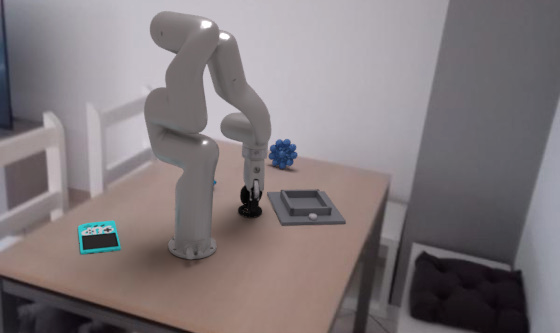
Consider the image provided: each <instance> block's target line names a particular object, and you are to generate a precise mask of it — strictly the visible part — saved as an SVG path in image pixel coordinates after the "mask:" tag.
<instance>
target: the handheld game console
mask: <svg viewBox="0 0 560 333" xmlns="http://www.w3.org/2000/svg"><path fill="white" fill-rule="evenodd" d="M77 230H78V234H77V235H78V240H79V241H78V243H80V244H79V251H80V255H88V254H89V255H91V254H92V255H93V254H99V253H101V254H102V253H108V252H112V251H113V252H119V251H121V250H122V247H121V242H120V239H119V234H118V231H117V230H118V229H117V225H116V221H115V220H106V221H105V220H104V221H94V222H86V223H83V224H80V225H78V227H77Z"/></svg>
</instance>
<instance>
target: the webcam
mask: <svg viewBox="0 0 560 333" xmlns="http://www.w3.org/2000/svg"><path fill="white" fill-rule="evenodd" d="M244 185H245V184H244ZM251 190H254V188H251ZM263 192H264V191H260V189H259V202H260V201H261V199H262V196H263ZM253 194H254V192H252V195H253ZM248 199H249V191H248V190H247V188H246V185H245V186H242V187H241V189H240V195H239V200H240V202H241V204H242V205H240V206H238V208H237V213H238V214H239V215H240V216H242V217H244V218H258V217H260V216H261V215H262V214H263V208H262V207H261V206H259V208H258V212H248V211H245V210H248Z"/></svg>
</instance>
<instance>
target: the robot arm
mask: <svg viewBox="0 0 560 333" xmlns="http://www.w3.org/2000/svg"><path fill="white" fill-rule="evenodd" d="M149 35H150V37H151V39H152V41H153V42H154V44H155V45H156V46H157V47H159V48H161V49H163V50H165V51H168V52H170V53H173V54H175V56H174V58H173V59H172V60H171V62H170V63H169V65H168V66H167V69H166V71H165V75H164V76H165V77H164V82H165V87H163V86H162V87H160V86H159V87H156V88H154V89H153V90H151V91H150V92H149V93H148V95H147V96H146V99H145V102H144V105H143V106H144V107H143V115H144V120H145V126H146V131H147V135H148V138H149V139H148V140H149V144H150V148H151V151H152V153H153V156H154V157H155V158H156V159H158V160H159V161H161V162H163V163H166V164H168V165H171V166H175V167H177V168H180V169H182V170H183V172H182V174H181V176H180V177H178V180H177V181H176V184H175V189H174V190H175V192H174V195H175V197H174V198H175V199H174V200H175V202H174V203H175V204H174V236H172V237H171V238H170V240H169V241H168V243H167V244H168V246H167V247H168V250H169V252H170V253H171V254H173V255H174V256H176V257H177V258H181V259H187V260H198V259H199V260H200V259H204V258H207V257H210V256H211V255H213V254H214V253H215V251H217V241H216V240H215V239H214V238H213V237H212V223H213V221H212V220H213V204H214V202H213V200H214V186H215V185H214V179H215V176H216V175H215V174H216V171H217V170H216V169H217V166H218V162H219V157H220V147H219V145H218V143H217V141H215V139H213V138H212V137H210V136H207V135H205V134H202V132H203V131H204V130H205V129H206V128H207V125H208V120H209V119H208V118H209V116H208V108H207V100H206V94H205V86H204V72H205V69H206V66H207V67H208V71H209V75H210V78H211V82H212V85H213V88H214V92H215V93H216V95H218V97H220V98H221V99H222V100H223V101H225V102H226V103H227V104H229V105H230V106H232V107H234V108H235V109H237V110H238V111H239V112H232V113H231V112H230V113H228V114H227V115H225V116H224V117H223V118H222V120H221V121H220V124H219V125H220V126H219V130H220V132H221V134H222V136H224V137H225V138H227V139H229V140H232V141H236V142H238V143H239V142H240V143H242V145H241V157H242V158H244V161H243V172H242V174H243V183H244V186H245V185H246V188H247V190H248V191H249V199H248V210H247V209H246V210H247V211H246V212H248V213H250V212H258V208H259V207H260V206H259V205H260V201H259V189H260V191H262V192H264V190H265V170H266V169H265V168H266V167H265V165H266V164H265V162H266V161H265V160H266V159H267V158H268V151H269V150H268V149H269V141H270V139H271V136H272V124H271V115H270V113H269V109H268V107H267V105H266V104H265V102H264V100H263V99H262V98H261V97H260V95H259V94H258V93H257V92H256V90H254V88H253V87H252V86H251V85H250V84H249V83H248V81H247V78H246V74H245V71H244V70H245V69H244V66H243V65H244V64H243V62H242V57H241V54H240V49H239V45H238V41H237V39H236V37H235V36H234V34H232V33H230V32H229V31H226V30H223V29H219V25H218V24H217V22H215V21H214V20H212V19H211V18H208V17H205V16H200V15H195V14H188V13H181V12H175V11H170V10H169V11H167V10H165V11H161V12H158V13H157V14H155V15H154V16H153V17H152V19H151V21H150V24H149ZM251 188H254V190H251ZM252 192H254V194H253V195H252Z"/></svg>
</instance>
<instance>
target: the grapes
mask: <svg viewBox="0 0 560 333" xmlns="http://www.w3.org/2000/svg"><path fill="white" fill-rule="evenodd" d="M291 143H292V142H291V139H288V138H285V139H284V140H282V139H281V138H278V139H277V140H276V141H275V144H272V145H270V146H269V151H270V152H269V154H268V155H267V158H268V159H269V160H270V161H272V162H271V165H272V166H274V167H279V169H281V170H284V169H285V168H286V167H287V166H288V167H291V166H293V165H294V160H296V159H297V158H298V152H297V151H296V150H297V145H296V144H294V143H292V144H291Z"/></svg>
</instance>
